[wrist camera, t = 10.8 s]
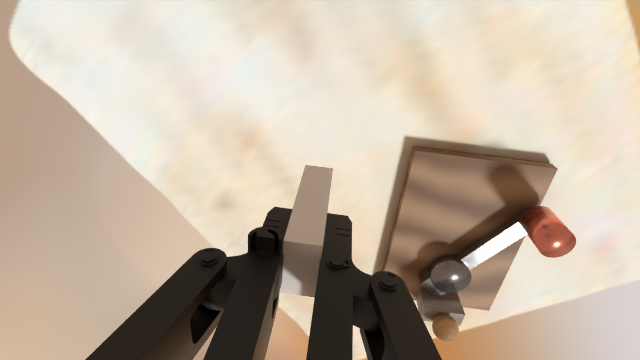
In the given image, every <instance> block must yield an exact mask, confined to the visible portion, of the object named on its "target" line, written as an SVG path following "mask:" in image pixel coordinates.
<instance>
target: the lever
mask: <svg viewBox="0 0 640 360" xmlns="http://www.w3.org/2000/svg"><path fill="white" fill-rule="evenodd" d="M526 234H527V235H528V236H529V237H530V239H531V240H532V241H533V243H534V244H535V246H536V247H537V248H538V250H539V251H540V252H541V254H543V255H544V256H547V257H560V256H563V255H565V254H567V253H569V252H570V251H571V250H572V249H573V248H574V246H575V244H576V238H575V236H574V235H573V234H572V233H571V231H570V230H569V229H568V228H567V227H566V226H565V225H564V224H563V223H562V222H561V220H560V219H559V218H558V217H557V216H556V215H555V214H554V213H553V212H552V211H551V210H550V209H549V208H547V207H544V206H536V207H533V208H532V207H531V206H530V207H529V208H527V209H526V210H524V211H523V212H521V213H520V214H518V215H517V216H515V217H514V218H512V219H511V220H509V221H508V222H506V223H505V224H503V225H502V226H500V227H499V228H497V229H496V230H494V231H493V232H491V233H490V234H488V235H487V236H485V237H484V238H482V239H481V240H479V241H478V242H476V243H475V244H473V245H472V246H470V247H469V248H467V249H466V250H464V251H463V252H461V253H460V254H458V255H457V256H456V255H444V256H441V257H438V258H437V259H435V260H434V261H433V262H432V263H431V265H430V267H429V268H427V269H426V270H424V271H423V272H421V273H420V274H418V275H419V280H420V284H421V285H422V286H424V287H425V288H426V289H427V290H429V291H430V292H431V293H432V294H434V295H435V296H436V297H438V298H439V297H441V296H442V295H444V294H446V293H454V292H458V291H461V290H463V289H465V288H466V287H467V286H468V285H469V284H470V282H471V279H472V276H471V272H470V270H471V269H472V268H474V267H476V266H477V265H479V264H480V263H482V262H483V261H485V260H487V259H488V258H490V257H491V256H493V255H494V254H496V253H498V252H499V251H501V250H502V249H504V248H505V247H507V246H509V245H510V244H512V243H513V242H515V241H516V240H518V239H520V238H521V237H523V236H524V235H526Z"/></svg>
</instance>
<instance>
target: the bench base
mask: <svg viewBox="0 0 640 360" xmlns="http://www.w3.org/2000/svg"><path fill="white" fill-rule="evenodd" d="M556 171H557V168H556V167H555V166H554V165H553V164H550V163H542V162H534V161H526V160H518V159H510V158H502V157H494V156H486V155H479V154H471V153H463V152H455V151H447V150H439V149H431V148H423V147H416V146H414V147H413V151H412V155H411V159H410V163H409V167H408V171H407V175H406V179H405V183H404V187H403V191H402V195H401V199H400V203H399V207H398V211H397V215H396V219H395V223H394V227H393V231H392V235H391V239H390V243H389V247H388V251H387V255H386V259H385V263H384V267H383V271H389V272H392V273H394V274H397V275H398V276H399V277H401V278H402V280H403V281H404V282H405V284H406V286H407V288H408V290H409V292H410V294H411V297H412V299H413V300H417V305H418V310H419V313H420V315H421V317H422V319H423V320H424V321H431V322H433V324H432V328H433V332H434V334H435V335H436V336H437V337H438V338H439V339H441V340H443V341H451V340H453V339H455V338H456V337H457V335H458V331H459V328H458V325H459V326H460V325H461V323H462V320H463V318H464V316H465V313H464V310H463V308H462V307H467V308H474V309H481V310H488V311H489V309H490V307H491V305H492V303H493V301H494V299H495V297H496V295H497V293H498V291H499V289H500V287H501V285H502V282H503V280H504V278H505V276H506V274H507V272H508V270H509V268H510V266H511V264H512V262H513V260H514V258H515V256H516V254H517V252H518V250H519V247H520V245H521V243H522V241H523V239H524V237H525V235H524V236H523V237H521V238H520V239H518V240H516V241H515V242H513V243H512V244H510V245H509V246H507V247H505V248H504V249H502V250H501V251H499V252H498V253H496V254H494V255H493V256H491V257H490V258H488V259H487V260H485V261H483V262H482V263H480V264H479V265H477V266H476V267H474V268H472V269H471V270H470V272H471V276H472V279H471V282H470V284H469V285H468V286H467V287H466V288H465V289H463V290H461V291H458V292H454V293H446V294H444V295H442V296H441V297H439V298H438V297H436V296H435V295H434V294H432V293H431V292H430V291H429V290H427V289H426V288H425V287H424V286H422V285H421V284H420V280H419V275H418V274H420V273H421V272H423V271H424V270H426V269H427V268H429V267H430V265H431V263H432V262H433V261H434V260H435V259H437V258H438V257H441V256H444V255H456V256H457V255H458V254H460V253H461V252H463V251H464V250H466V249H467V248H469V247H470V246H472V245H473V244H475V243H476V242H478V241H479V240H481V239H482V238H484V237H485V236H487V235H488V234H490V233H491V232H493V231H494V230H496V229H497V228H499V227H500V226H502V225H503V224H505V223H506V222H508V221H509V220H511V219H512V218H514V217H515V216H517V215H518V214H520V213H521V212H523V211H524V210H526V209H527V208H529V207H530V206H531V207H532V208H533V207H536V206H540V204H541V202H542V200H543V198H544V196H545V194H546V192H547V190H548V188H549V186H550V184H551V182H552V180H553V178H554V175H555V173H556Z"/></svg>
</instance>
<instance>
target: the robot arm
mask: <svg viewBox="0 0 640 360" xmlns="http://www.w3.org/2000/svg"><path fill="white" fill-rule="evenodd" d="M332 171H333V169H332V168H324V167H317V166H309V165H305V169H304V172H303V175H302V179H301V182H300V186H299V189H298V193H297V196H296V200H295V203H294V206H293V209H287V208H279V207H274V208H273V209H272V210H270V211H269V212H268V214H267V216H266V219H265V221H264V224H263V226H262V227H259V228H256V229H254V230H252V231H251V232H250V233H249V234H248V253H246V254H243V255H239V256H232V257H226V254H225V253H224V252H223V251H222V250H220V249H216V248H206V249H203V250H200V251H198V252H197V253H195V254H194V255H193V256H192V257H191V258H190V259H189V260H188V261H187V262H186V263H185V264H183V265H182V266H181V267H180V268H179V269H178V270H177V271H176V272H175V273H174V274H173V275H172V276H171V277H170V278H169V279H168V280H167V281H166V282H165V283H164V284H163V285H162V286H161V287H160V288H159V289H158V290H157V291H156V292H155V293H154V294H153V295H152V296H150V298H148V299H147V301H145V303H143V304H142V305H141V306H140V307H139V308H138V309H137V310H136V311H135V312H134V313H133V314H132V315H131V316H130V317H129V318H128V319H127V320H126V321H125V322H124V323H123V324H122V325H121V326H120V327H119V328H118V329H117V330H115V331H114V332H113V333H112V334H111V335H110V336H109V337H108V338H107V339H106V340H105V341H104V342H103V343H102V344H101V345H100V346H99V347H98V348H97V349H96V350H95V351H94V352H93V353H92V354H91V355H90V356H89V357H88V358H87V359H86V360H193V358H194V357H195V355H196V354H197V353H198V351H199V350H200V349H201V347H202V346H203V344H204V343H205V342H206V340H207V339H208V338H209V336H210V335H211V333H212V332H213V330H214V329H215V328H216V327H217V328H216V330H215V333H214V335H213V338H212V340H211V342H210V345H209V347H208V350H207V352H206V355H205V357H204V359H203V360H264V359H265V355H266V351H267V347H268V343H269V339H270V335H271V331H272V327H273V322H274V319H275V314H276V310H277V306H278V300H279V292H281V293H289V294H296V295H303V296H310V297H315V300H314V307H313V314H312V322H311V329H310V336H309V344H308V351H307V358H306V360H352V336H353V325H354V326H356V327H359V328H360V333H361V337H362V340H363V344H364V347H365V351H366V354H367V358H368V360H442V359H441V357H440V355H439V353H438V351H437V349H436V347H435V344H434V342H433V340H432V338H431V336H430V334H429V332H428V330H427V328H426V326H425V324H424V321H423V319H422V317H421V315H420V313H419V311H418V309H417V307H416V305H415V303H414V301H413V299H412V297H411V294H410V292H409V290H408V288H407V286H406V284H405V282H404V281H403V280H402V278H401V277H399V276H398V275H397V274H394V273H392V272H389V271H379V272H376V273H375V274H373V275H372V276H371V275H369V274H366V273H364V272H362V271H360V270H359V269H357V268H356V267H355V265H354V264H353V262H352V222H351V220H350V219H349V217H348V216H344V215H337V214H330V213H327V210H328V202H329V194H330V187H331V179H332ZM280 288H281V290H280Z"/></svg>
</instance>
